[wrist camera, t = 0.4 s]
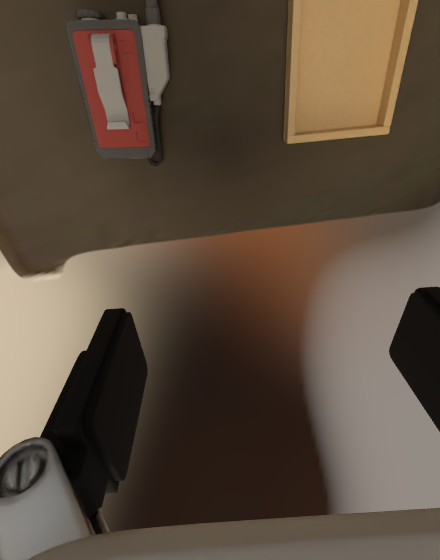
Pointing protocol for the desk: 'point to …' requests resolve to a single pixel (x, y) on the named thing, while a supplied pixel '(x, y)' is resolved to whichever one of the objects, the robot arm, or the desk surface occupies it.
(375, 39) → the tray
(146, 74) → the walkie-talkie
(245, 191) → the desk surface
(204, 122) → the desk surface
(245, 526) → the robot arm
